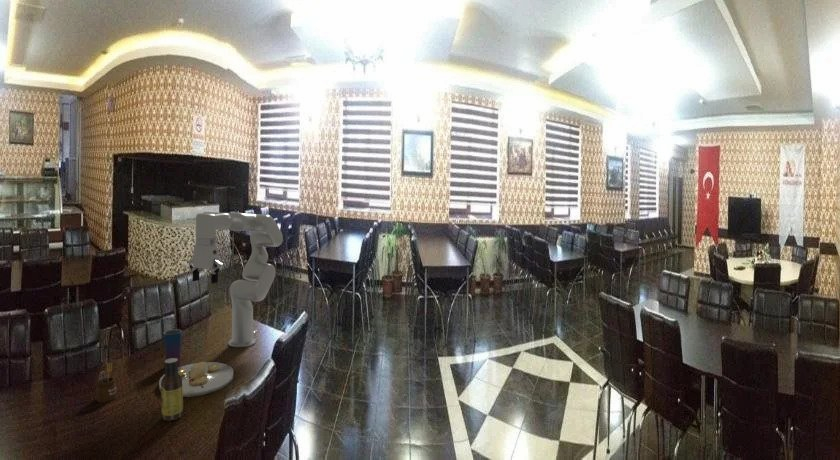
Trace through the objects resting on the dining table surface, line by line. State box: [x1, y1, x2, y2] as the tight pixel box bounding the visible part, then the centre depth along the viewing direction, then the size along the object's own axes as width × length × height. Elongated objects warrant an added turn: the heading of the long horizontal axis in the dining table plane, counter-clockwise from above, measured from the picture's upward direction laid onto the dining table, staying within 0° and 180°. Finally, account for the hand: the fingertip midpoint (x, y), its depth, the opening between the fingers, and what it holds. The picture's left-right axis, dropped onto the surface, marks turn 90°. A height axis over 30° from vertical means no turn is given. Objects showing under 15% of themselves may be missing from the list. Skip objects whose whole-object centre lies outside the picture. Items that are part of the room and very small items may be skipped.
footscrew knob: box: [189, 361, 208, 386], centre depth 163 cm, size 7×6×7 cm
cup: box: [162, 328, 183, 367], centre depth 182 cm, size 7×7×15 cm
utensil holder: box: [95, 362, 117, 403], centre depth 153 cm, size 6×6×12 cm
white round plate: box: [158, 361, 234, 398], centre depth 169 cm, size 26×26×4 cm
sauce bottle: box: [160, 358, 184, 422], centre depth 143 cm, size 6×6×20 cm
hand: (205, 281), depth 184 cm, fingers open, 9 cm apart
